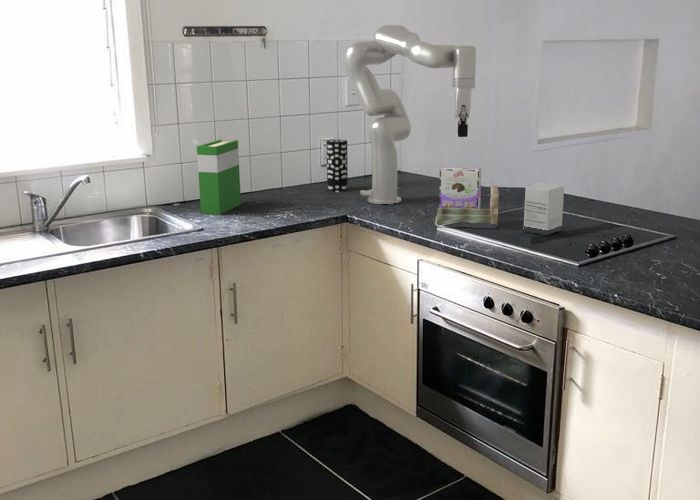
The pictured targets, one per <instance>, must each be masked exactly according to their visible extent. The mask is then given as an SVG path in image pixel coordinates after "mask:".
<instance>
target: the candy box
mask: <svg viewBox="0 0 700 500" xmlns="http://www.w3.org/2000/svg"><path fill="white" fill-rule="evenodd" d="M438 192H439V193H438V194H439V195H438V196H439V197H438V198H439V204H438V205H439V206H438V208H468V209H481V198H482V197H481V194H482V167H466V166H465V167H463V166H442V167H441V168H439V191H438Z"/></svg>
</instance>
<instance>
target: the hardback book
mask: <svg viewBox="0 0 700 500" xmlns="http://www.w3.org/2000/svg"><path fill="white" fill-rule="evenodd" d="M222 140H223V139H217V140H214V141H213V140H212V141H210V142H207V143H204V144H200V145H197V146H196V153H197V154H196V155H197V171H198V172H197V173H198V188H199V203H200V214H203V215H206V214H207V215H217V216H218V215H219V216H220V215H223V214H225V213H226V212H229V211H231V210H232V209H234V208H236V207H238V206H240V205H242V200H241V199H242V197H241V176H240V157H239V156H240V155H239V140H238V139H235V140H231V141H222Z"/></svg>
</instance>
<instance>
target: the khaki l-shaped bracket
mask: <svg viewBox="0 0 700 500" xmlns="http://www.w3.org/2000/svg"><path fill="white" fill-rule="evenodd" d="M499 197H500V192H499V188H498V185H490V198H489V199H490V200H489V208H480V209H468V208H439V207H437V212H436V215H435V222H434V224H435V225H438V224H447V223H455V222H470V223H491V224H497V225H498V221H499V219H498V217H499V216H498V215H499V199H500V198H499ZM435 225H434V226H435Z"/></svg>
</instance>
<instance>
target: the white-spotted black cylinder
mask: <svg viewBox="0 0 700 500" xmlns="http://www.w3.org/2000/svg"><path fill="white" fill-rule="evenodd" d="M348 164H349V163H348V140H346V139H328V140H326V177H327V178H326V184H327V185H326V187H327V188H326V189H327V191H328V192H330V193H344V192H347V191H348V190H349V187H348V186H349V184H348V183H349V181H348V177H349V174H348Z"/></svg>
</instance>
